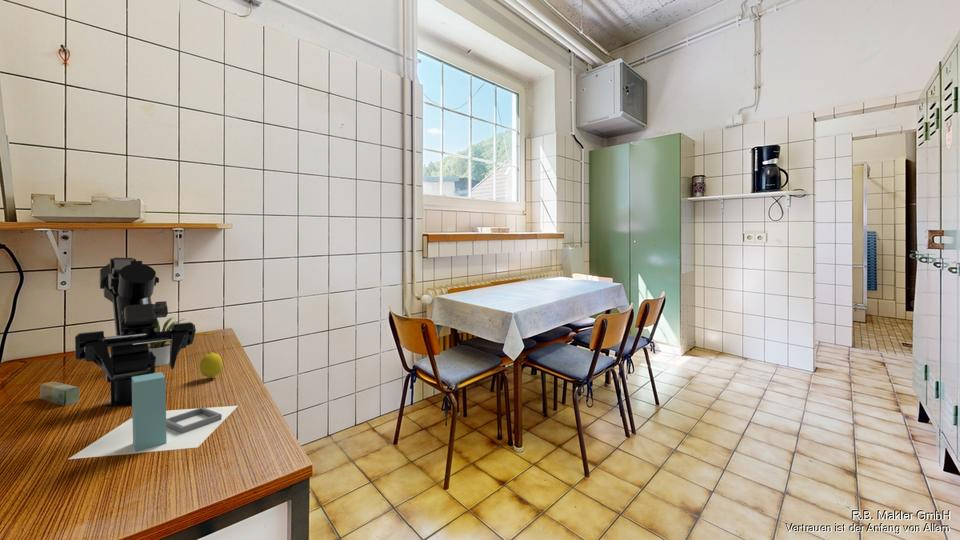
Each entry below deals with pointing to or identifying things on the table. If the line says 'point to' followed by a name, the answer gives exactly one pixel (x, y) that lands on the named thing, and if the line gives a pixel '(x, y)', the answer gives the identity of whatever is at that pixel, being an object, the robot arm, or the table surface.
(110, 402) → the robot arm
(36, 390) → the table surface
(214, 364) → the lemon
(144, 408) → the post
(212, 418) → the socket
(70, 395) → the medication box
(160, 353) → the house plant
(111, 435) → the baseplate
